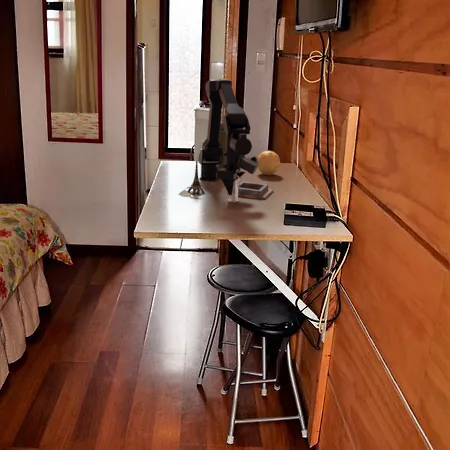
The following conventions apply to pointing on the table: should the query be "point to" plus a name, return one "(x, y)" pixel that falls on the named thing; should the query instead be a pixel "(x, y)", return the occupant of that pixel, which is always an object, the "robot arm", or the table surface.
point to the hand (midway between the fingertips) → (232, 193)
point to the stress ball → (268, 162)
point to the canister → (222, 142)
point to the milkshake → (235, 191)
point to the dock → (254, 190)
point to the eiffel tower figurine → (193, 187)
